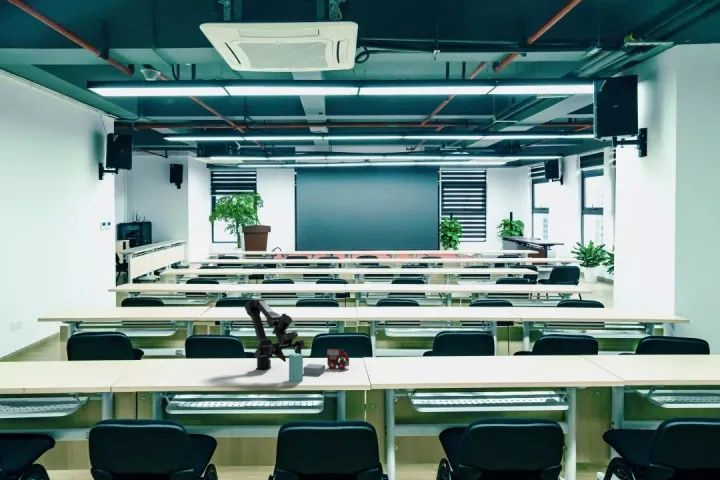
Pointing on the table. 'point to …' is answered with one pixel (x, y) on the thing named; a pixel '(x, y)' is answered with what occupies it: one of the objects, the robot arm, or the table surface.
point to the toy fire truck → (334, 357)
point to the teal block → (295, 367)
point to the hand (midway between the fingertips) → (293, 360)
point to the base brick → (314, 369)
